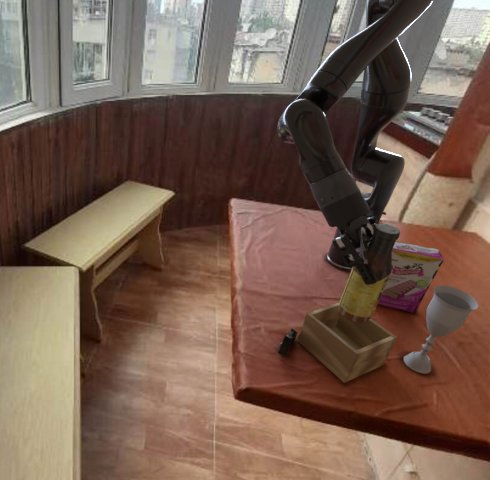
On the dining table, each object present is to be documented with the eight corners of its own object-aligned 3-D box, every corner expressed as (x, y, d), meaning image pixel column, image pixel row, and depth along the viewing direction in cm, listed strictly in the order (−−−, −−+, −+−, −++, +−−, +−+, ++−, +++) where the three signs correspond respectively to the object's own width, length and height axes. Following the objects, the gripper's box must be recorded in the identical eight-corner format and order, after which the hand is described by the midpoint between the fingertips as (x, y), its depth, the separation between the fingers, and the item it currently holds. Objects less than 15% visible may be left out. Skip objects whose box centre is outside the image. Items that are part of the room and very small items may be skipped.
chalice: (391, 351, 90) (425, 285, 81) (420, 350, 91) (457, 284, 82) (413, 378, 84) (453, 310, 75) (444, 377, 85) (488, 309, 75)
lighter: (280, 348, 93) (289, 326, 93) (290, 352, 92) (298, 330, 92) (274, 351, 86) (284, 328, 86) (284, 356, 85) (294, 333, 85)
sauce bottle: (374, 327, 81) (415, 241, 71) (340, 322, 82) (376, 236, 72) (364, 305, 87) (401, 223, 76) (333, 301, 88) (365, 218, 77)
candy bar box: (366, 303, 104) (389, 248, 96) (363, 292, 108) (385, 238, 100) (416, 314, 101) (445, 259, 93) (411, 302, 105) (438, 248, 97)
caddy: (334, 326, 97) (344, 299, 92) (383, 365, 87) (397, 337, 83) (297, 340, 92) (306, 313, 88) (344, 383, 82) (357, 354, 78)
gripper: (338, 199, 72) (384, 286, 71) (373, 180, 80) (415, 258, 79) (302, 214, 78) (344, 295, 77) (338, 196, 86) (376, 268, 85)
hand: (380, 276), depth 78 cm, fingers closed on sauce bottle, 6 cm apart
